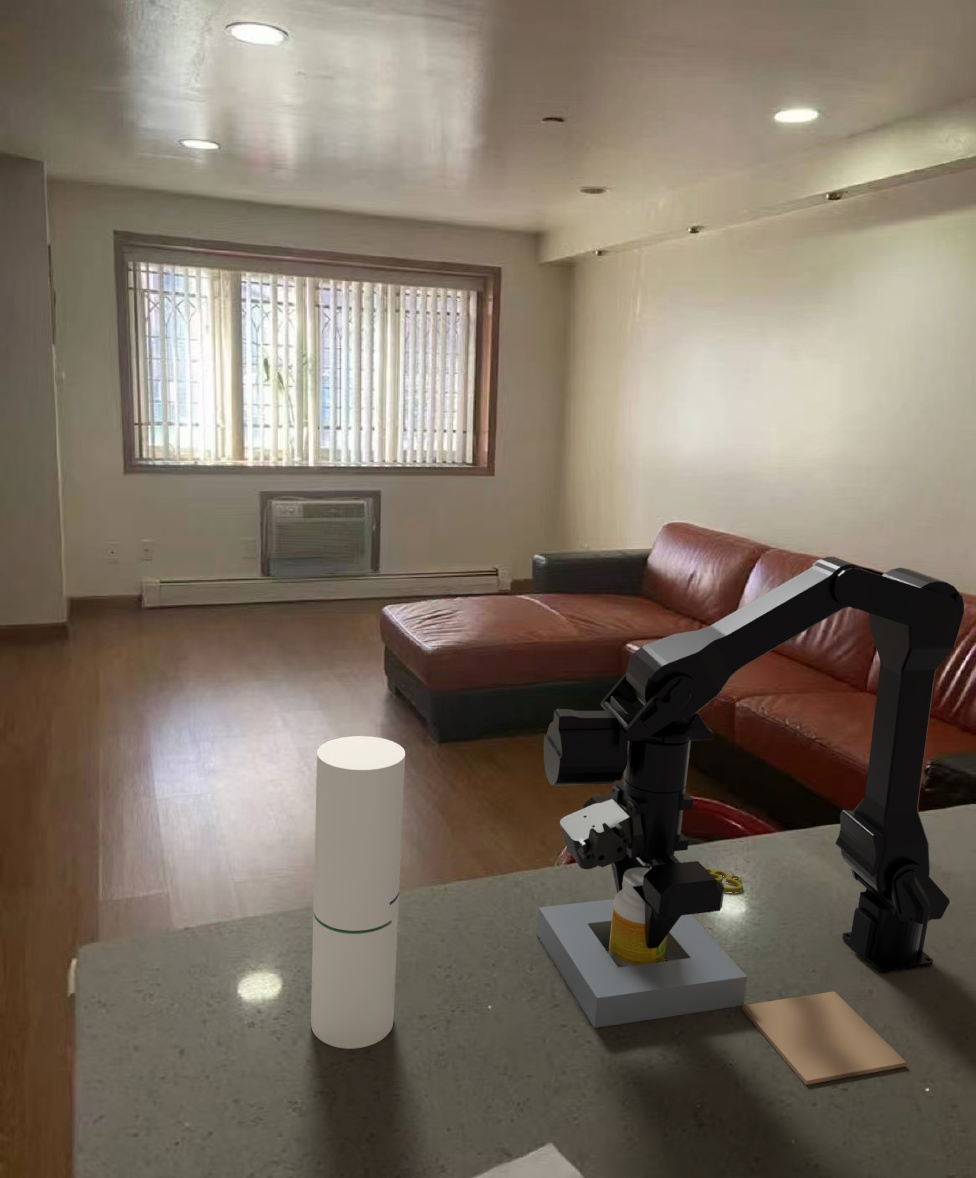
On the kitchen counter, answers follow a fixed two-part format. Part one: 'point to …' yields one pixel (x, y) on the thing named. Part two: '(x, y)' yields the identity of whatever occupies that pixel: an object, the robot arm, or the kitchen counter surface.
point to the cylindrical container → (356, 889)
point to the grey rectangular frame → (637, 968)
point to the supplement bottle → (631, 925)
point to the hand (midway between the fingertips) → (639, 930)
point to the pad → (822, 1037)
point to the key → (727, 880)
